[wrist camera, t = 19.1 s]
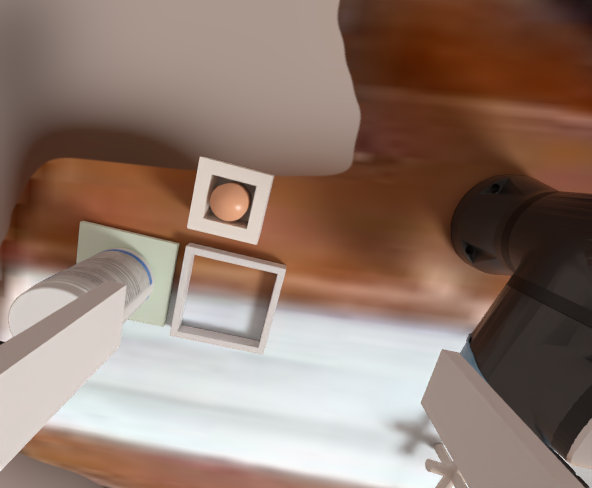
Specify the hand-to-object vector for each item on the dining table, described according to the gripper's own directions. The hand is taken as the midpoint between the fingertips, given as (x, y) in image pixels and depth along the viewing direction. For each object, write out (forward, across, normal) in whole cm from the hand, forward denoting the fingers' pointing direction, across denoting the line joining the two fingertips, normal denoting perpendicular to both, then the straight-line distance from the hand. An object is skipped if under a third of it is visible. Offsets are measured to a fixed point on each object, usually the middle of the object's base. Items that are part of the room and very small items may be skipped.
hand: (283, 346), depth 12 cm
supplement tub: (+33, +22, +14) cm, 42 cm away
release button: (+31, +8, -1) cm, 32 cm away
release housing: (+34, +8, -1) cm, 35 cm away
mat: (+34, +22, +14) cm, 43 cm away
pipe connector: (+35, -38, +37) cm, 64 cm away
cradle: (+34, +6, +15) cm, 37 cm away
